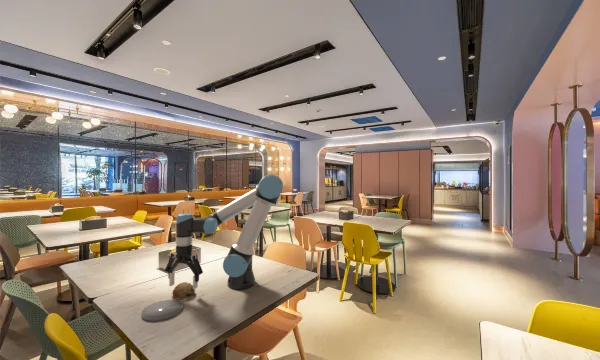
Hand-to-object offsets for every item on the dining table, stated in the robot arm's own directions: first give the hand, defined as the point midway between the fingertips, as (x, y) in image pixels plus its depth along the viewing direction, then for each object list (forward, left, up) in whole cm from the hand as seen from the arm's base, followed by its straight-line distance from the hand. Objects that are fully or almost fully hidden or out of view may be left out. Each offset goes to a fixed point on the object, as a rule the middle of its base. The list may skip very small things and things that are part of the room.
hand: (183, 286), depth 127 cm
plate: (-2, +16, -4) cm, 17 cm away
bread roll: (0, 0, -4) cm, 5 cm away
